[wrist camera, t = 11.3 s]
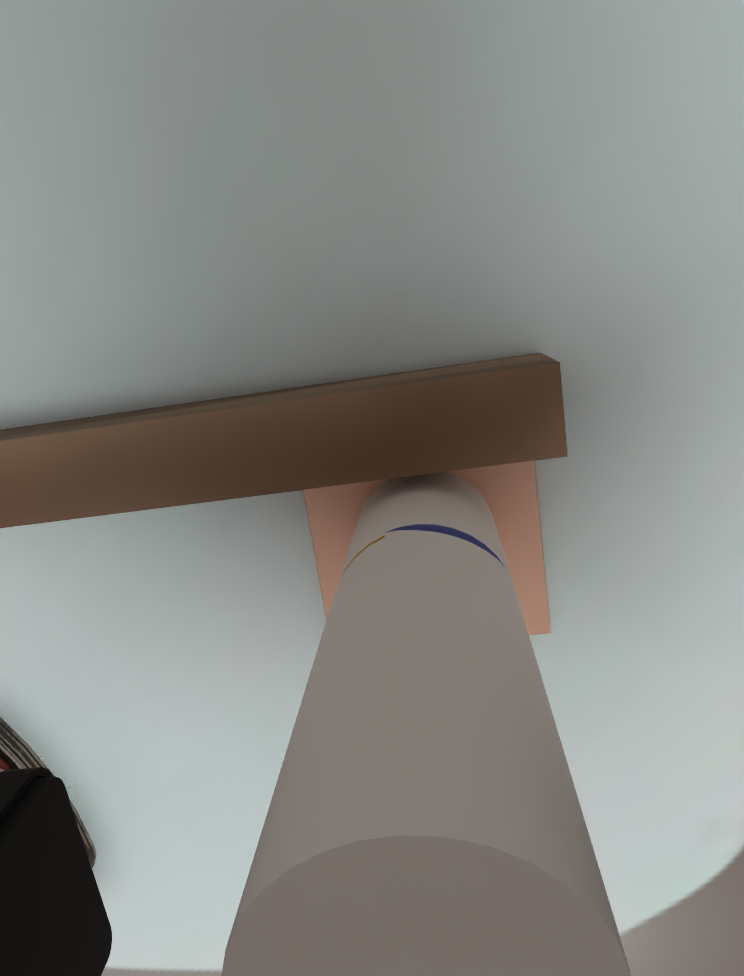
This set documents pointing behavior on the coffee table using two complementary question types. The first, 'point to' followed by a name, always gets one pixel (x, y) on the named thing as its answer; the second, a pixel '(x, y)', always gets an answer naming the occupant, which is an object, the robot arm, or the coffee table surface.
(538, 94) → the coffee table surface
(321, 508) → the end pad
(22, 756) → the lighter
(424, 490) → the tube
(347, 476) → the walnut straightedge
